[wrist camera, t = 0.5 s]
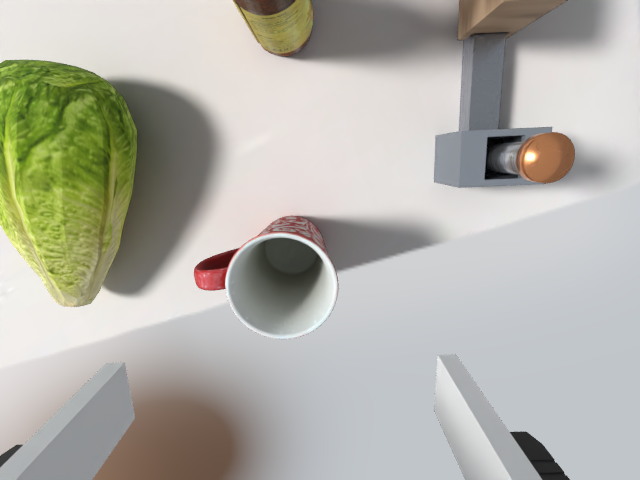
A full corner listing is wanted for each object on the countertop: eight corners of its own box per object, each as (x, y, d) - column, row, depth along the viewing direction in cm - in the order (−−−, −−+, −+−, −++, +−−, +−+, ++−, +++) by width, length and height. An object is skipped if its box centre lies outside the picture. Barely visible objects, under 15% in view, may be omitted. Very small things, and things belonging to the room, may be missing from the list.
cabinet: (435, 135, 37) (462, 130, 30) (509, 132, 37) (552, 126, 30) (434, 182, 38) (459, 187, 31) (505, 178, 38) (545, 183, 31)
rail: (466, -25, 33) (478, -40, 31) (497, -27, 33) (511, -41, 31) (458, 134, 37) (468, 133, 35) (486, 133, 37) (498, 131, 35)
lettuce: (-16, 299, 36) (24, 357, 29) (-52, 43, 29) (-11, 42, 22) (107, 273, 46) (158, 312, 39) (102, 76, 38) (164, 83, 32)
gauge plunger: (481, 138, 31) (527, 133, 24) (520, 136, 31) (578, 131, 24) (478, 178, 32) (522, 184, 25) (516, 176, 32) (571, 181, 25)
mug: (333, 207, 39) (341, 234, 26) (330, 282, 41) (336, 341, 28) (222, 204, 39) (173, 229, 26) (225, 279, 41) (181, 337, 28)
